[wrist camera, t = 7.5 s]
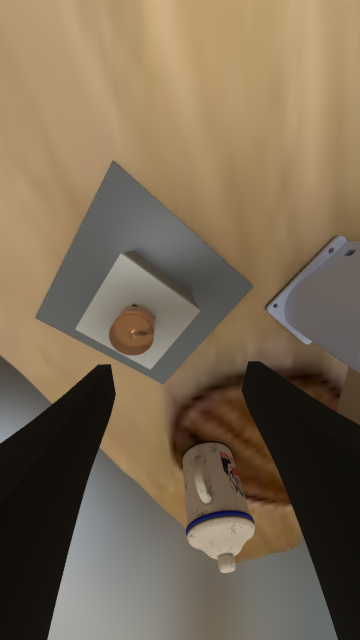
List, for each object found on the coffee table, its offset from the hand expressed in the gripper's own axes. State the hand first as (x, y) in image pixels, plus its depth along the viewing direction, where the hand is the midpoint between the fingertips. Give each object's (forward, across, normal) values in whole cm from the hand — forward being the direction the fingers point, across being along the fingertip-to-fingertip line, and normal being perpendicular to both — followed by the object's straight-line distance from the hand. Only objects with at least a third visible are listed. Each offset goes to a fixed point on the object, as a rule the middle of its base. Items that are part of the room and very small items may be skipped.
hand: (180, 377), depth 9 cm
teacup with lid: (+11, -6, +26) cm, 29 cm away
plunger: (+9, +3, -1) cm, 9 cm away
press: (+10, +3, -1) cm, 11 cm away
